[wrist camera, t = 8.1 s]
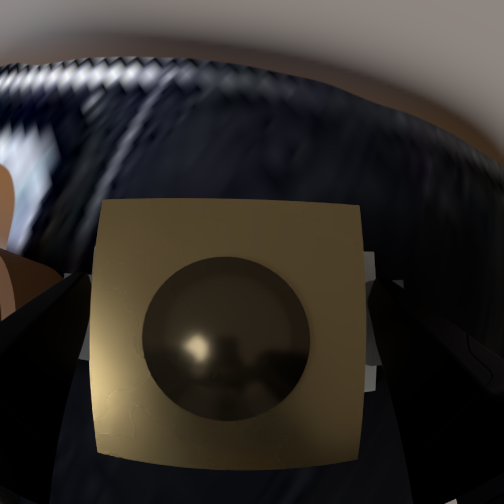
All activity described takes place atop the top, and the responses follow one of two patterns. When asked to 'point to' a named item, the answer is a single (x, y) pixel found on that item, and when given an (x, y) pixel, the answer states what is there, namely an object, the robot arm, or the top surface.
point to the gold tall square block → (228, 332)
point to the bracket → (22, 281)
